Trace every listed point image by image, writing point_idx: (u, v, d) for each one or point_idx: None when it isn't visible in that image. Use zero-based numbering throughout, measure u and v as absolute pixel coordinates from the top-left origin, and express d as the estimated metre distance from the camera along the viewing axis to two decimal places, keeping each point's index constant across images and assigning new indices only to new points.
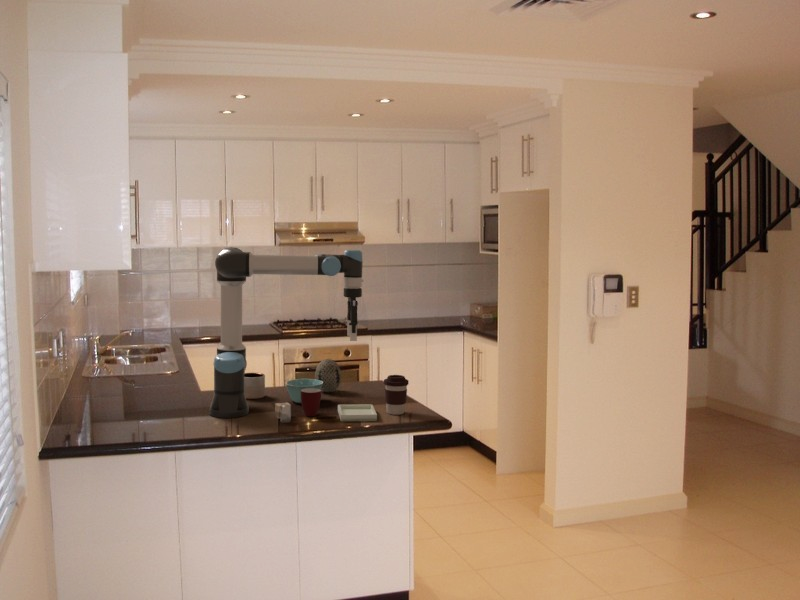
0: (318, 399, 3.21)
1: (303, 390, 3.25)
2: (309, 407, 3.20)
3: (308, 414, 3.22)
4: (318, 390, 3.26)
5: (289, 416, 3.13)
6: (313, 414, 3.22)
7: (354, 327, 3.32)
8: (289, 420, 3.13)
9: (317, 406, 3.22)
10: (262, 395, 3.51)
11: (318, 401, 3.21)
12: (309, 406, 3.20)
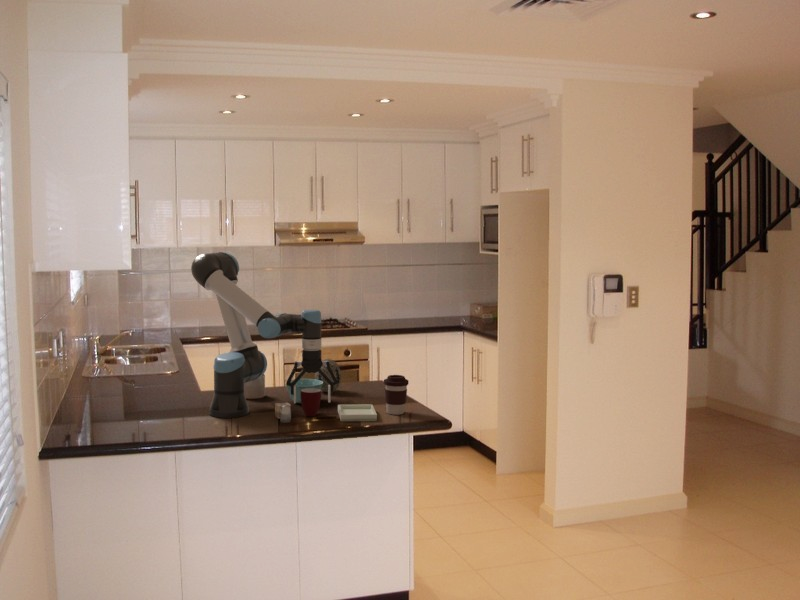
0: (318, 399, 3.21)
1: (303, 390, 3.25)
2: (309, 407, 3.20)
3: (308, 414, 3.22)
4: (318, 390, 3.26)
5: (289, 416, 3.13)
6: (313, 414, 3.22)
7: None
8: (289, 420, 3.13)
9: (317, 406, 3.22)
10: (262, 395, 3.51)
11: (318, 401, 3.21)
12: (309, 406, 3.20)
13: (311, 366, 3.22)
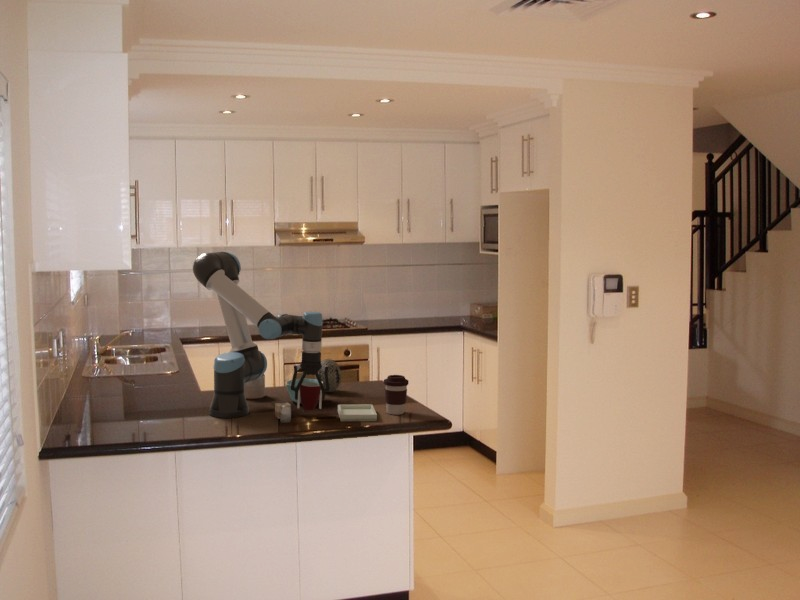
0: (317, 393, 3.21)
1: (303, 384, 3.25)
2: (308, 401, 3.20)
3: (306, 408, 3.22)
4: (318, 384, 3.26)
5: (289, 416, 3.13)
6: (311, 408, 3.22)
7: (295, 393, 3.23)
8: (289, 420, 3.13)
9: (316, 400, 3.22)
10: (262, 395, 3.51)
11: (317, 395, 3.22)
12: (308, 400, 3.20)
13: (310, 367, 3.22)
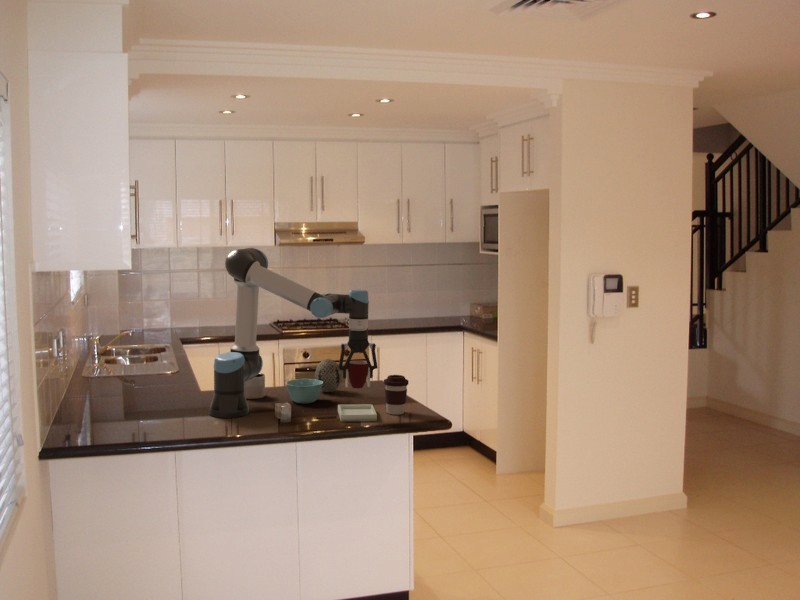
0: (366, 371, 3.20)
1: (350, 362, 3.24)
2: (357, 379, 3.19)
3: (355, 386, 3.20)
4: (365, 362, 3.24)
5: (289, 416, 3.13)
6: (360, 386, 3.20)
7: (343, 372, 3.22)
8: (289, 420, 3.13)
9: (364, 378, 3.20)
10: (262, 395, 3.51)
11: (366, 373, 3.20)
12: (357, 378, 3.19)
13: (358, 345, 3.21)
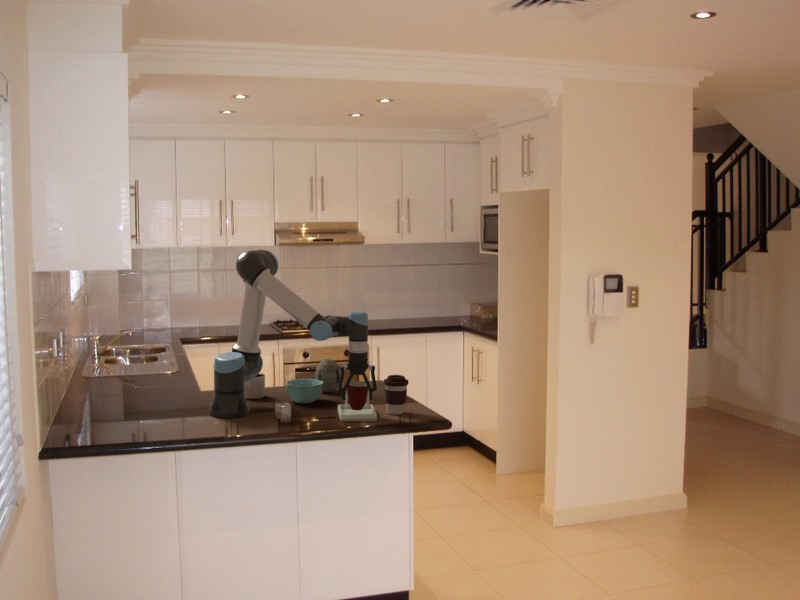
0: (365, 393, 3.21)
1: (350, 384, 3.25)
2: (356, 401, 3.20)
3: (355, 408, 3.21)
4: (365, 384, 3.25)
5: (289, 416, 3.13)
6: (360, 408, 3.21)
7: (342, 394, 3.23)
8: (289, 420, 3.13)
9: (364, 400, 3.21)
10: (262, 395, 3.51)
11: (365, 395, 3.21)
12: (356, 400, 3.19)
13: (357, 367, 3.22)
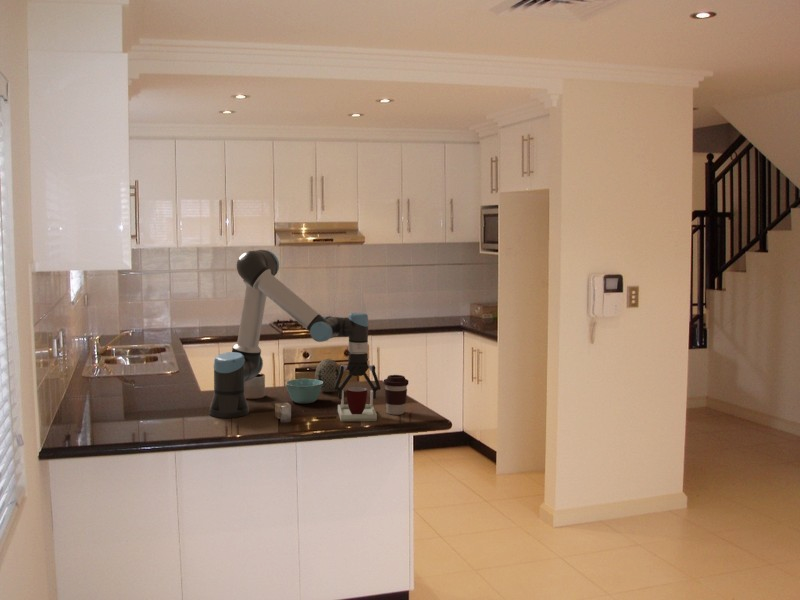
0: (364, 398, 3.21)
1: (349, 389, 3.25)
2: (356, 406, 3.20)
3: (354, 413, 3.21)
4: (364, 389, 3.25)
5: (289, 416, 3.13)
6: (359, 413, 3.22)
7: None
8: (289, 420, 3.13)
9: (363, 405, 3.21)
10: (262, 395, 3.51)
11: (364, 400, 3.21)
12: (356, 405, 3.20)
13: (357, 369, 3.22)
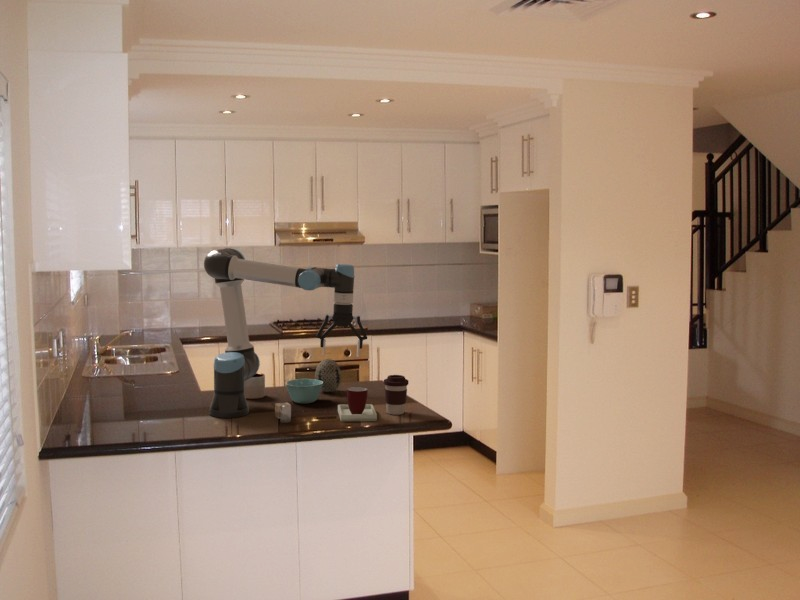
0: (365, 398, 3.21)
1: (349, 389, 3.25)
2: (356, 406, 3.20)
3: (354, 413, 3.21)
4: (364, 389, 3.25)
5: (289, 416, 3.13)
6: (359, 413, 3.22)
7: None
8: (289, 420, 3.13)
9: (363, 405, 3.21)
10: (262, 395, 3.51)
11: (364, 400, 3.21)
12: (356, 405, 3.20)
13: (342, 320, 3.24)
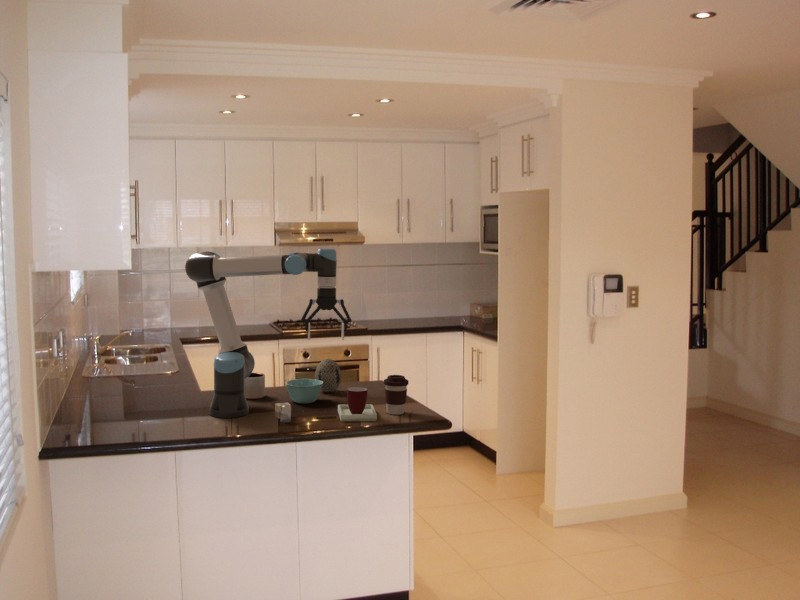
0: (364, 398, 3.21)
1: (349, 389, 3.25)
2: (356, 406, 3.20)
3: (354, 413, 3.21)
4: (364, 389, 3.25)
5: (289, 416, 3.13)
6: (359, 413, 3.22)
7: (305, 325, 3.30)
8: (289, 420, 3.13)
9: (363, 405, 3.21)
10: (262, 395, 3.51)
11: (364, 400, 3.21)
12: (356, 405, 3.20)
13: (326, 303, 3.29)
